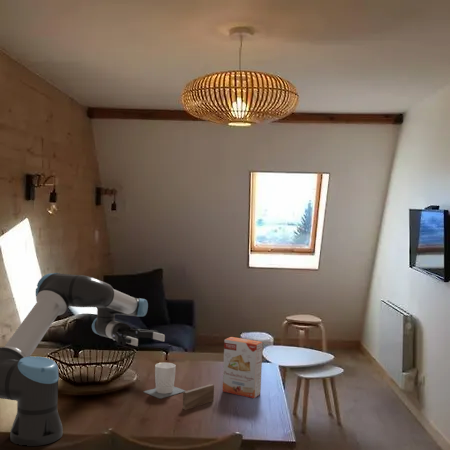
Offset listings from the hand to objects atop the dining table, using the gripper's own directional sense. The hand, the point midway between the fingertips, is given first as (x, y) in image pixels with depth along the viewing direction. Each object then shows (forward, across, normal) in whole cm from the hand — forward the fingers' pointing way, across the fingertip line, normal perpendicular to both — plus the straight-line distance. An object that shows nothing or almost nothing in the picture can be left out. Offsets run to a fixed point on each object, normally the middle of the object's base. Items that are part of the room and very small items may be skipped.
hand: (150, 340), depth 226 cm
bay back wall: (+29, 0, -18) cm, 34 cm away
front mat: (+10, 0, -18) cm, 21 cm away
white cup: (+10, +1, -18) cm, 21 cm away
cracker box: (+30, -21, -18) cm, 41 cm away
